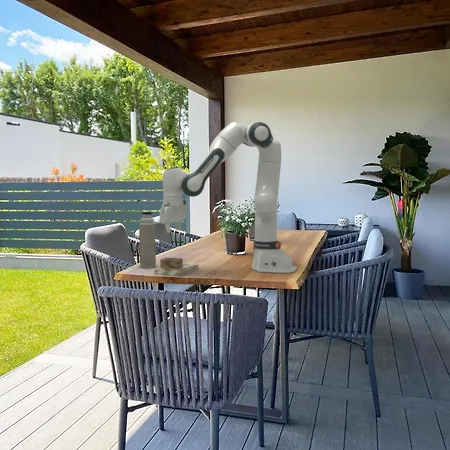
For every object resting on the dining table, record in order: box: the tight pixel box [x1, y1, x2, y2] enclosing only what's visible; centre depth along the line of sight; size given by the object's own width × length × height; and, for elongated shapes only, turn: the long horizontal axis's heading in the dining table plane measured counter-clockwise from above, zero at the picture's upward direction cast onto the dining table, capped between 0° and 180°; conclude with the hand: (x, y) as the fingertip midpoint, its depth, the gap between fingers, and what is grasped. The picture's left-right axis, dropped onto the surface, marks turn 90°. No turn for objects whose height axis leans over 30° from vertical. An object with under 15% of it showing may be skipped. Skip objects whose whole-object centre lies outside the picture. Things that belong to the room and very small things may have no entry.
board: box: [154, 263, 200, 277], centre depth 219 cm, size 14×19×2 cm
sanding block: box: [159, 257, 184, 271], centre depth 214 cm, size 9×6×5 cm, turn 68°
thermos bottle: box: [138, 211, 157, 269], centre depth 229 cm, size 8×8×28 cm
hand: (173, 231), depth 214 cm, fingers open, 8 cm apart
